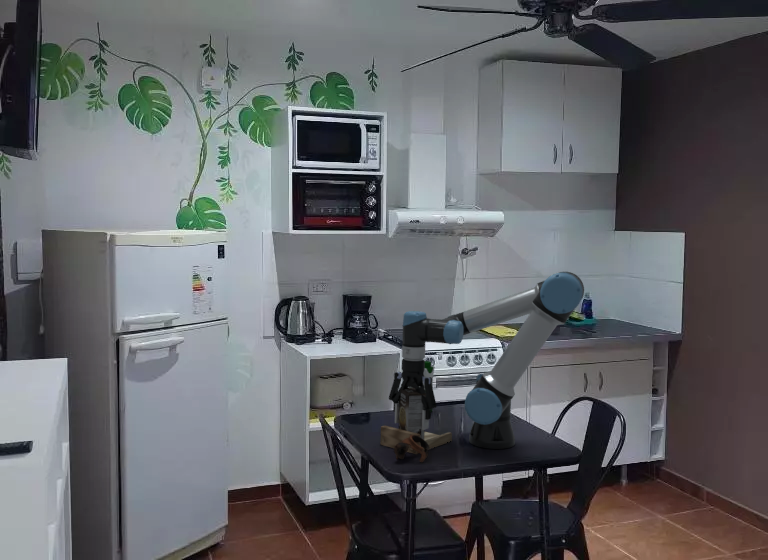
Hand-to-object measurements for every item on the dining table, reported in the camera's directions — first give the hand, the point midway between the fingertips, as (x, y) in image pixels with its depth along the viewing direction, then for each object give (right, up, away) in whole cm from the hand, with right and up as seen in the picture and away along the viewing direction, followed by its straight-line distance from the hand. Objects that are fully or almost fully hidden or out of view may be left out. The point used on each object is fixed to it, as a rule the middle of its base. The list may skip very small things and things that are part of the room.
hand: (411, 425), depth 234 cm
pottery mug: (-1, -8, -15) cm, 17 cm away
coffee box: (0, -5, 0) cm, 5 cm away
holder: (+1, -6, +2) cm, 7 cm away
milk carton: (+5, -4, +44) cm, 45 cm away
